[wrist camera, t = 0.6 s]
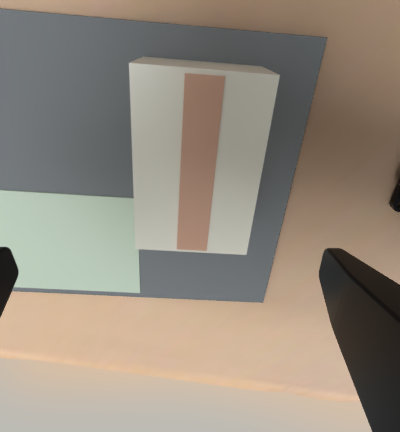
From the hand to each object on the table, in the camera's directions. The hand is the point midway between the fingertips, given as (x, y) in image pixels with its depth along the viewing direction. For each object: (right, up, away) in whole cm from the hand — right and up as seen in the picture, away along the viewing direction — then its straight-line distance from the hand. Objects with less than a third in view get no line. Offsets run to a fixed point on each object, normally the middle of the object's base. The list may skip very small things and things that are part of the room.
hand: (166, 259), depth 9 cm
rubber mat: (-4, +3, +11) cm, 12 cm away
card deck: (+1, +5, +9) cm, 11 cm away
